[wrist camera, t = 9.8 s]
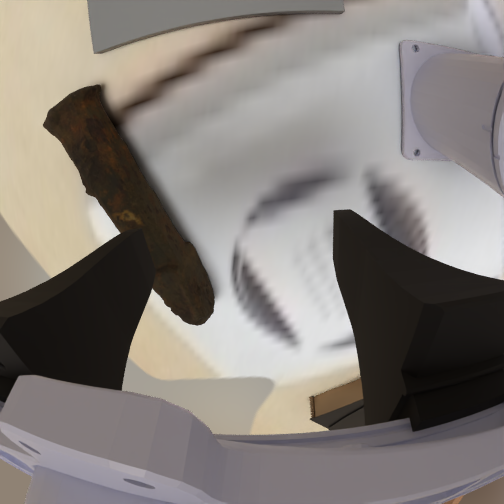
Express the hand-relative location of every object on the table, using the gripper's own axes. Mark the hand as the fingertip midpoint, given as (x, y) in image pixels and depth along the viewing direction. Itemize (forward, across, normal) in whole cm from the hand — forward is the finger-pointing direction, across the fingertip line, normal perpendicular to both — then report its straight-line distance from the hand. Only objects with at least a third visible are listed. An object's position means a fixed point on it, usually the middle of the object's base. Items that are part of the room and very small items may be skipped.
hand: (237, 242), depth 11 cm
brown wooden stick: (+10, +7, +2) cm, 12 cm away
